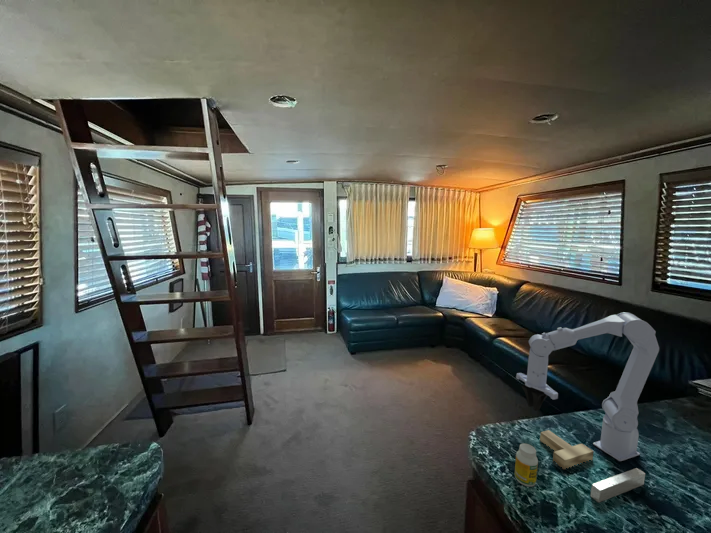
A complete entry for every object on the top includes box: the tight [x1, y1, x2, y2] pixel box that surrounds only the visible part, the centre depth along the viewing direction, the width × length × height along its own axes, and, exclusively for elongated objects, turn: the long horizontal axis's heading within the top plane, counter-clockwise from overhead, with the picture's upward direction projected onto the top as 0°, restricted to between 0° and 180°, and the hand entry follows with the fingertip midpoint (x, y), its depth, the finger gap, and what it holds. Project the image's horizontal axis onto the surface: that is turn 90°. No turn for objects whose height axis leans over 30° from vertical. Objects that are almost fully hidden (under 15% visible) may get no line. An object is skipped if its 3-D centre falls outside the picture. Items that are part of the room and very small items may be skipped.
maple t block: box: [539, 429, 594, 470], centre depth 96 cm, size 12×12×3 cm
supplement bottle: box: [514, 442, 539, 488], centre depth 84 cm, size 5×5×10 cm
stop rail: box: [590, 467, 646, 503], centre depth 82 cm, size 18×2×4 cm, turn 109°
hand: (533, 407), depth 105 cm, fingers closed
